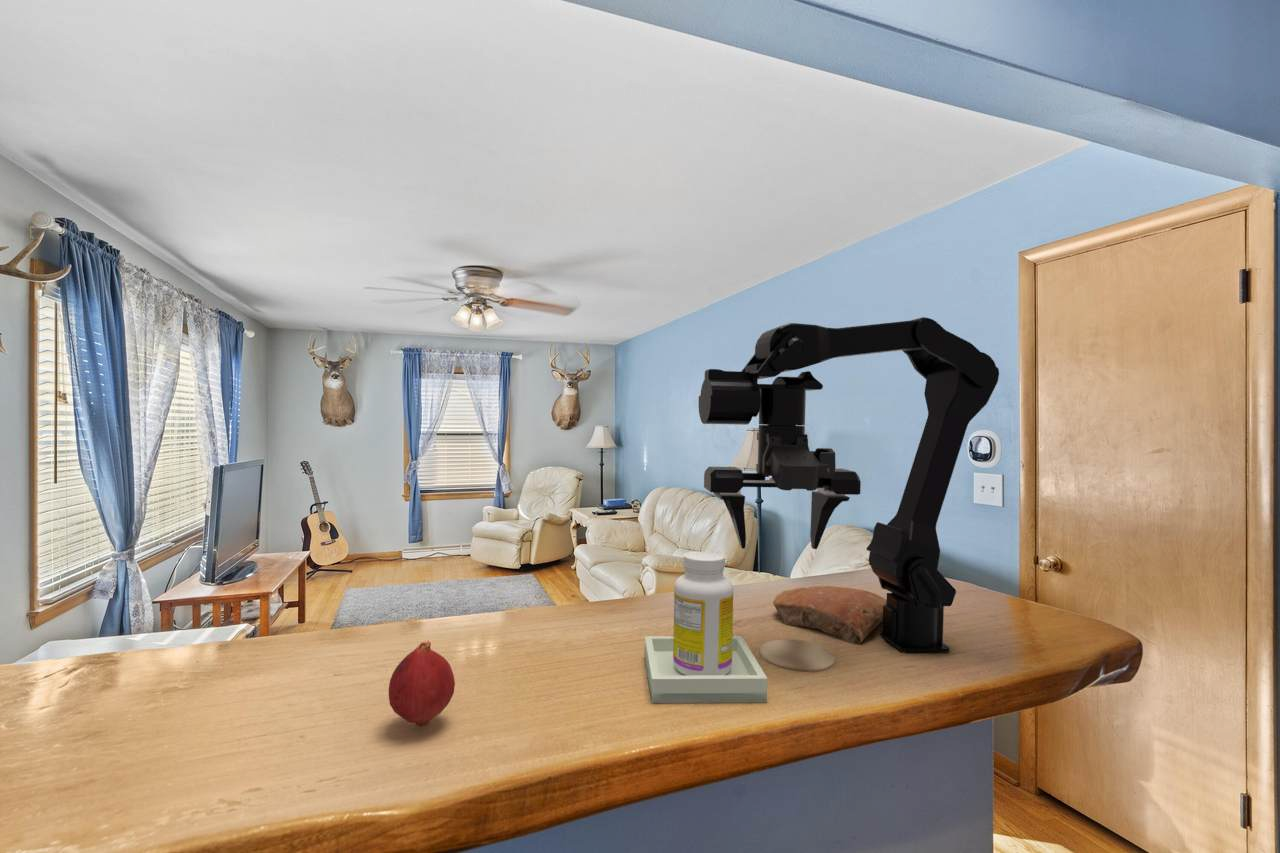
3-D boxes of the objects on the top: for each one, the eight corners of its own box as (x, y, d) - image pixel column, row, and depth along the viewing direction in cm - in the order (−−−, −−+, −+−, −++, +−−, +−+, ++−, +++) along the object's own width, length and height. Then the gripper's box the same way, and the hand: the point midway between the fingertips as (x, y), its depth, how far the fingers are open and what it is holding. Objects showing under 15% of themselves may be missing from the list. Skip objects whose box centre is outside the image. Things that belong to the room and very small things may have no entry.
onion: (388, 747, 53) (389, 657, 53) (387, 716, 58) (388, 634, 58) (457, 734, 55) (458, 647, 55) (450, 706, 60) (451, 627, 60)
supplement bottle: (723, 656, 72) (726, 548, 72) (738, 680, 65) (741, 562, 65) (668, 657, 71) (670, 549, 71) (677, 682, 65) (681, 562, 64)
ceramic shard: (804, 567, 99) (898, 599, 90) (796, 605, 99) (889, 641, 90) (765, 573, 88) (868, 609, 79) (756, 616, 88) (858, 658, 79)
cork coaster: (819, 642, 80) (819, 639, 80) (846, 671, 71) (846, 667, 71) (752, 642, 79) (752, 639, 79) (771, 671, 70) (771, 668, 70)
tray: (741, 656, 75) (741, 636, 74) (766, 702, 63) (767, 678, 62) (644, 656, 74) (644, 636, 74) (651, 703, 62) (652, 679, 62)
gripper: (720, 425, 68) (717, 563, 68) (882, 428, 69) (878, 564, 69) (704, 423, 79) (701, 542, 79) (844, 426, 80) (841, 543, 80)
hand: (778, 548), depth 77 cm, fingers open, 9 cm apart
